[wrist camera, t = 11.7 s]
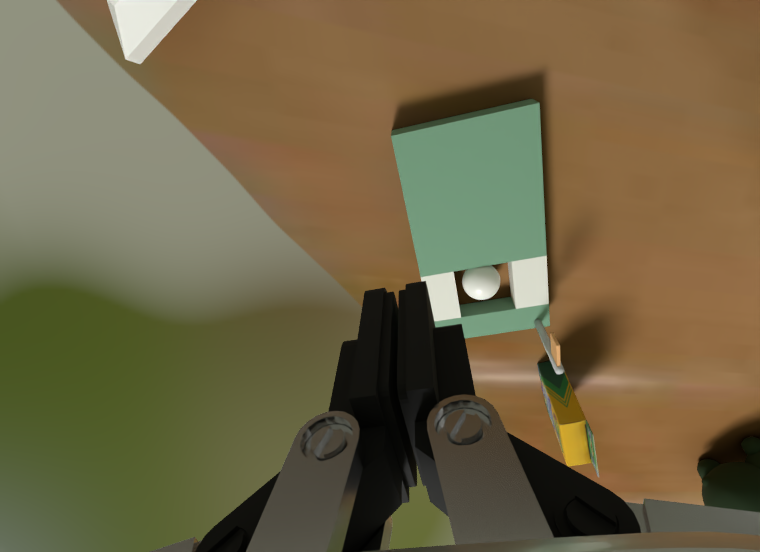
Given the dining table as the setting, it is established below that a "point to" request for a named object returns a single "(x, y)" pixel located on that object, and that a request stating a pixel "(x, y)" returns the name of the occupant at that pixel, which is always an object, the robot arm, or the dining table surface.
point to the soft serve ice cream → (145, 23)
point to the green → (480, 215)
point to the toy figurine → (733, 480)
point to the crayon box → (567, 417)
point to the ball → (481, 282)
